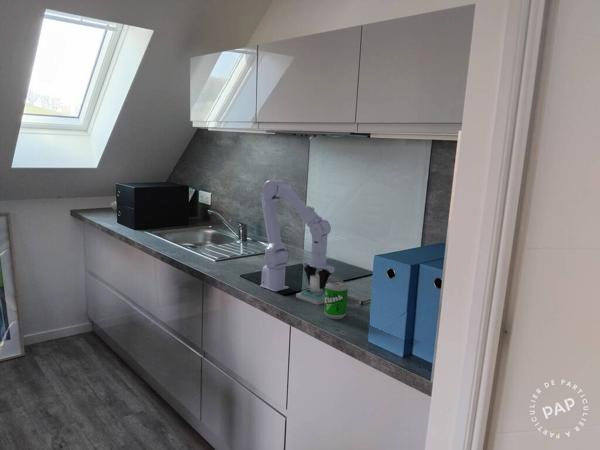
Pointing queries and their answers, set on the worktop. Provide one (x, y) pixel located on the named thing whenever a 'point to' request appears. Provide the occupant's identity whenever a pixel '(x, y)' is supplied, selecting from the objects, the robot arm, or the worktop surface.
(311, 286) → the grey rounded piece
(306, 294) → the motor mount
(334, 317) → the soda can
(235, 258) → the worktop surface
